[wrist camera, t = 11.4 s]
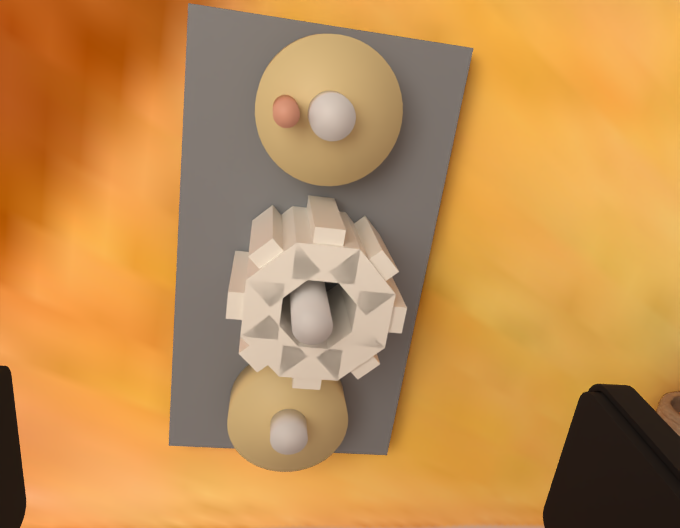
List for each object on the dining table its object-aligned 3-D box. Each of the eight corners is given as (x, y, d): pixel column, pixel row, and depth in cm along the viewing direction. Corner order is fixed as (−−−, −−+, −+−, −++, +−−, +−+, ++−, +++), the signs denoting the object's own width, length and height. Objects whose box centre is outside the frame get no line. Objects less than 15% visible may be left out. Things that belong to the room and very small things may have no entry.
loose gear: (397, 204, 27) (423, 240, 22) (371, 340, 30) (389, 397, 25) (241, 186, 26) (234, 219, 21) (228, 328, 29) (219, 385, 24)
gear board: (462, 47, 26) (530, 52, 19) (382, 437, 34) (409, 541, 27) (193, 4, 24) (161, -6, 17) (173, 427, 32) (145, 536, 25)
